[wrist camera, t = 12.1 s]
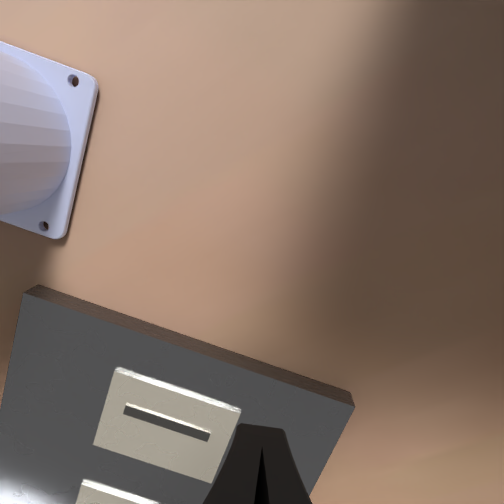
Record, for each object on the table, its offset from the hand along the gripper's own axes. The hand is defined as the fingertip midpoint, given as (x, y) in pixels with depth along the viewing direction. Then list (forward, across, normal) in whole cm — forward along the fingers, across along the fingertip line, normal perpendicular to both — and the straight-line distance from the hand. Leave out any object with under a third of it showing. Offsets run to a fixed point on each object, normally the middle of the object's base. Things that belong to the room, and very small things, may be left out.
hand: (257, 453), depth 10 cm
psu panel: (+9, +6, +12) cm, 16 cm away
